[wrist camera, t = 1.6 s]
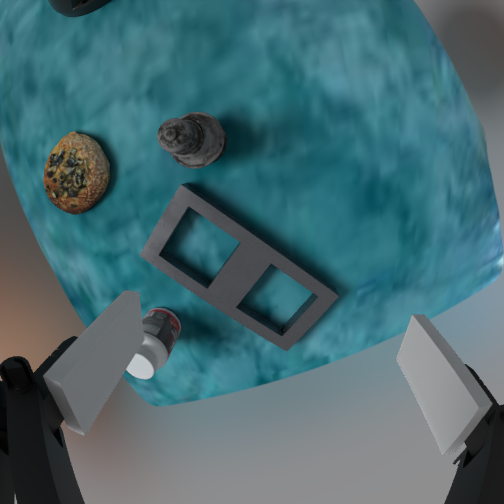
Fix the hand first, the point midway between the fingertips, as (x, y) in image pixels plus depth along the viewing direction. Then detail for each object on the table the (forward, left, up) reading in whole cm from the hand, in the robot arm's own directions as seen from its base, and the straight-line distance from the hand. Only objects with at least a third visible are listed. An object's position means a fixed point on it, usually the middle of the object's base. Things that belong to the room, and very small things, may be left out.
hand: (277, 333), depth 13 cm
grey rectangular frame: (0, -7, -21) cm, 22 cm away
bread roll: (-25, -9, -22) cm, 34 cm away
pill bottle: (-4, -20, -21) cm, 29 cm away
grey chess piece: (-12, +3, -21) cm, 25 cm away
